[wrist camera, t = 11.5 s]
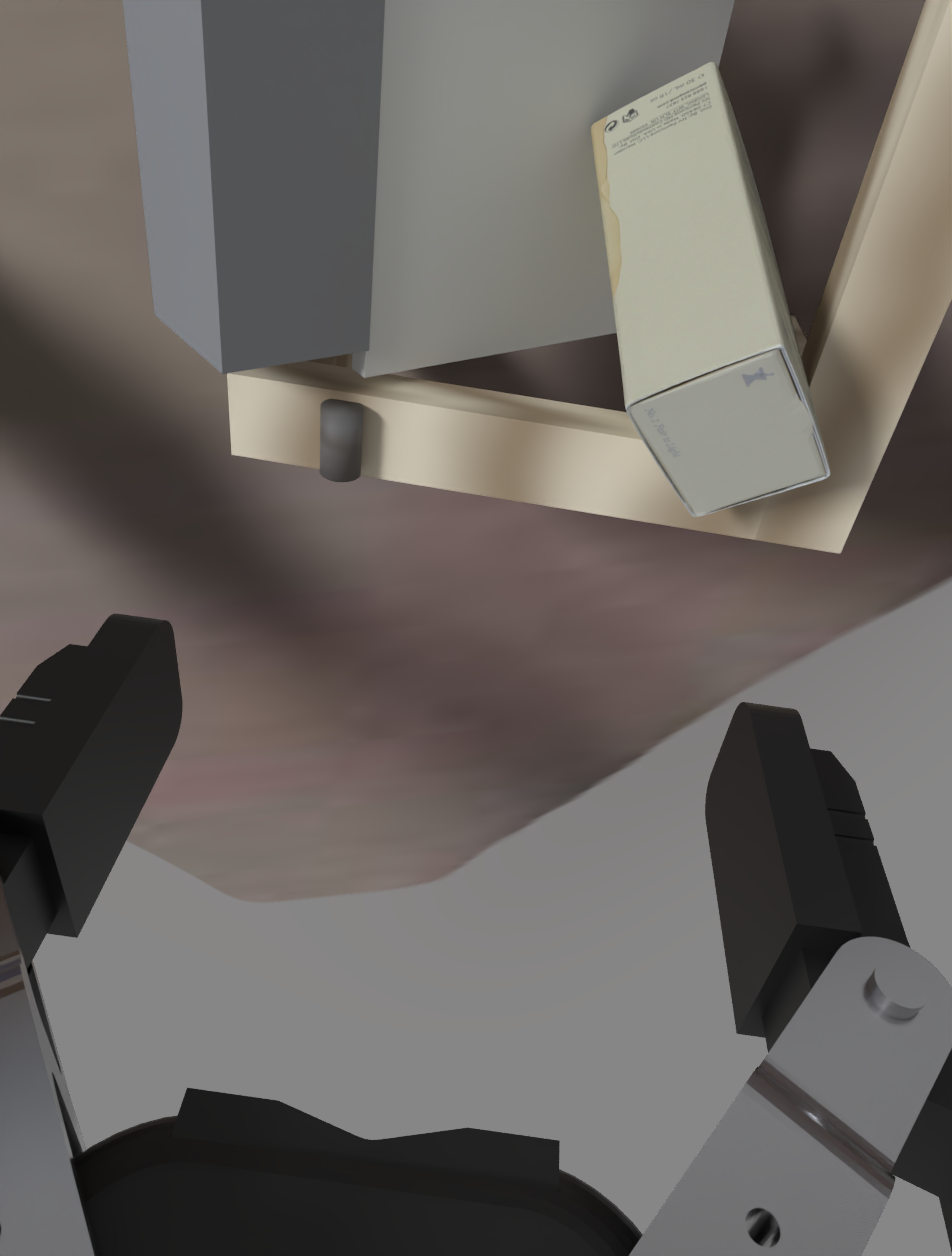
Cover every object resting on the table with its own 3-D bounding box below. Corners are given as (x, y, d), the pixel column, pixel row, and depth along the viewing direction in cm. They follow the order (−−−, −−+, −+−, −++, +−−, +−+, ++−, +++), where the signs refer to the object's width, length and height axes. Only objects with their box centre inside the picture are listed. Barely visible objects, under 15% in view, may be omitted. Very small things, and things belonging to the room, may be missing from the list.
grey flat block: (157, 345, 30) (224, 406, 27) (98, -236, 21) (186, -238, 18) (578, 287, 40) (659, 327, 37) (653, -121, 31) (766, -111, 28)
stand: (339, 308, 44) (219, 470, 31) (353, -294, 32) (159, -469, 18) (773, 377, 44) (847, 572, 30) (968, -205, 31) (1247, -316, 17)
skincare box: (586, 120, 29) (611, 402, 24) (721, 50, 28) (785, 338, 22) (652, 261, 34) (687, 525, 28) (771, 211, 32) (835, 482, 26)
